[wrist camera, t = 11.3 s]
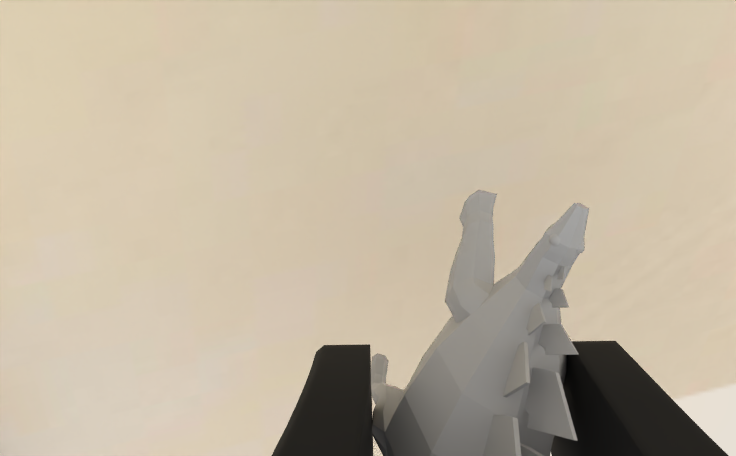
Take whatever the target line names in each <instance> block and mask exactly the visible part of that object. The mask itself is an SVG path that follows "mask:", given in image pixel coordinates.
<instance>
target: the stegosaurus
mask: <svg viewBox="0 0 736 456" xmlns="http://www.w3.org/2000/svg"><path fill="white" fill-rule="evenodd" d="M496 195H497V194H494V193H490V192H486V191H481V190H478V191H476V192H475V193H473V194H472V195H470V196H469V197H468V199H467V200H466V201H465V203H464V206H463V209H462V212H461V215H460V220H461V223H462V225H463V234H462V240H461V242H460V245H459V247H458V250H457V252H456V255H455V258H454V261H453V265H452V268H451V271H450V276H449V281H448V286H447V292H446V297H445V302H446V304H447V306H448V307H449V309H450V311H451V313H452V315H453V317H451V318H450V319H449V321H448V322H447V324H446V325H445V326H444V328H443V329H442V331H441V332H440V333H439V335H438V336H437V338H436V339H435V340H434V342H433V343H432V345H431V346H430V347H429V349H428V350H427V352H426V353H425V354H424V356H423V357H422V359H421V361H420V363H419V365H418V367H417V369H416V371H415V372H414V374H413V376H412V378H411V380H410V382H409V383H408V385H407V386H406V388H405V389H404V390H402V389H400V388H398V387H396V386H392V385H388V384H386V374H387V367H388V360H387V358H386V356H384V355H381V354H376V355H375V356H373V357H372V364H371V394H372V398H373V400H374V402H375V404H376V406H375V408H374V411H373V418H372V435H373V437H374V439H375V441H376V442H377V444H378V446H379V448H380V450H381V452H382V454H383V456H550V452H551V448H552V443H553V438H554V436H555V435H556V436H560V437H564V438H567V439H571V440H576V441H578V440H577V436H576V433H575V429H574V426H573V422H572V418H571V415H570V411H569V408H568V404H567V400H566V397H565V393H564V390H563V383H564V380H565V376H566V371H567V355H579V354H578V352H577V350H576V349H575V347H574V345H573V343H572V342H571V340H570V338H569V336H568V335H567V333H566V331H565V329H564V328H563V326H562V325H561V317H560V307H569V306H568V303H567V300H566V298H565V295H564V292H563V290H562V289H561V287H562V285H563V283H564V281H565V279H566V277H567V275H568V273H569V271H570V269H571V267H572V265H573V263H574V261H575V260H576V258H577V257H578V255H579V254H580V253H582V252H583V251H584V248H585V247H584V235H585V229H586V223H587V218H588V212H589V208H587V207H586V206H585V205H583V204H581V203H577V204H576V203H574V204H573V205H572V206H571V207H570V208H569V209H568V210H567V211H566V212H565V214H564V215H563V216H562V217H561V218H560V219H559V220H558V221H557V222H556V223H554V224H553V225H552V226H550V227H549V228H548V229H547V231H546V232H545V234H544V236H543V237H542V239H541V240H540V241H539V242H538V243H537V244H536V245H535V247H534V248H533V249H532V251H531V252H530V253H529V255H528V256H527V257H526V259H525V260H524V261H523V263H522V264H521V265H520V267H519V268H518V269H516V270H515V271H513V272H512V273H510V274H509V275H507V276H506V277H504V278H503V279H501V280H500V281H498V282H497V283H496V284H494V264H495V252H494V241H493V219H492V217H493V207H494V203H495V199H496ZM493 284H494V285H493Z"/></svg>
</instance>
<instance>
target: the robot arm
mask: <svg viewBox="0 0 736 456" xmlns="http://www.w3.org/2000/svg"><path fill="white" fill-rule="evenodd" d="M572 343H573V345H574V347H575V349H576V350H577V352H578V354H579V355H567V371H566V376H565V380H564V383H563V390H564V393H565V397H566V400H567V404H568V408H569V411H570V415H571V418H572V422H573V426H574V429H575V433H576V436H577V440H578V441H576V440H571V439H567V438H564V437H560V436H556V435H555V436H554V438H553V443H552V448H551V454H552V456H728V455H727V454H726V453H725V452H724V451H723V450H722V449H721V448H720V447H719V446H718V445H717V444H716V443H715V442H714V441H713V440H712V439H711V438H709V436H708V435H707V434H706V433H705V432H704V431H703V430H702V429H701V428H700V427H699V426H697V424H696V423H695V422H694V421H693V420H692V419H691V418H690V417H689V416H688V415H687V414H686V413H685V412H684V411H683V410H682V409H681V408H680V407H679V406H678V405H677V404H676V403H675V402H674V401H673V400H672V399H671V398H670V397H669V396H668V395H667V394H666V393H665V392H664V390H663V389H662V388H661V387H660V386H659V385H658V384H657V383H656V382H655V381H654V380H653V379H652V378H651V377H650V376H649V375H648V374H647V373H646V372H645V371H644V370H643V369H642V368H641V367H640V366H639V365H638V363H637V362H636V361H635V360H634V359H633V358H632V357H631V356H630V355H629V354H628V353H627V352H626V351H625V350H624V349H623V348H622V347H621V346H620V345H619V344H618V343H617V342H616V341H580V342H572ZM272 456H373V435H372V396H371V360H370V345H324V346H323V347H322V348H320V349H319V350H318V351H317V352H316V354H315V358H314V361H313V365H312V367H311V370H310V373H309V376H308V378H307V381H306V384H305V386H304V389H303V391H302V393H301V396H300V398H299V400H298V403H297V405H296V407H295V409H294V411H293V414H292V416H291V418H290V420H289V422H288V425H287V427H286V429H285V431H284V433H283V435H282V436H281V438H280V440H279V442H278V444H277V446H276V448H275V450H274V452H273V454H272Z"/></svg>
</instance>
